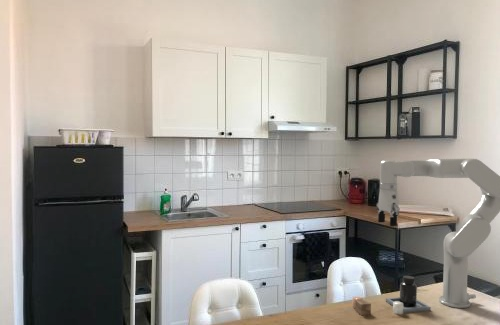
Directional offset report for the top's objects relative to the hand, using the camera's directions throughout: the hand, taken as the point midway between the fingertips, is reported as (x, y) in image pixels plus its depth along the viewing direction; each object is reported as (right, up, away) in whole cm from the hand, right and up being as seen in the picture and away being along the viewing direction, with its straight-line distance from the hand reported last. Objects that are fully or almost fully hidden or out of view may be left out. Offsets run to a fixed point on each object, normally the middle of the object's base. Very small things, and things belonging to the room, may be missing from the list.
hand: (387, 224), depth 188 cm
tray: (+5, -34, -12) cm, 36 cm away
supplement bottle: (+5, -33, -12) cm, 36 cm away
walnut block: (-17, -34, -21) cm, 43 cm away
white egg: (-2, -34, -20) cm, 39 cm away
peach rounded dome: (-18, -33, -15) cm, 41 cm away
